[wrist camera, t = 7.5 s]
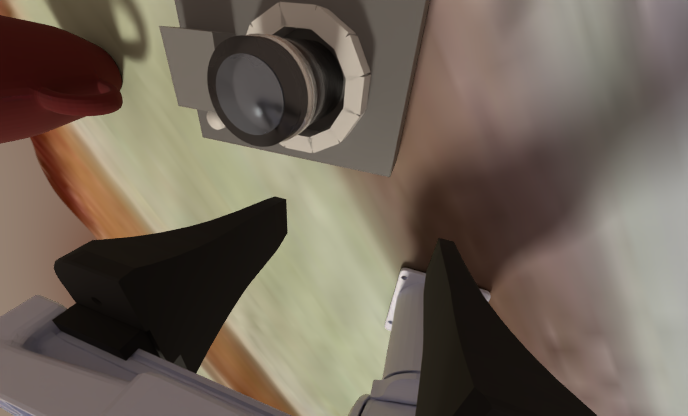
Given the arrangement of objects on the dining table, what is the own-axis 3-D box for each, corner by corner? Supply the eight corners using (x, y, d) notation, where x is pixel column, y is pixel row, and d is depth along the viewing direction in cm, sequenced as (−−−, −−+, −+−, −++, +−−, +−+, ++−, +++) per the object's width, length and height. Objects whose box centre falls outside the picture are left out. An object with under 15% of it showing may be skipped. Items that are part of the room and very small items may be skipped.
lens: (343, 124, 17) (301, 156, 12) (279, 116, 18) (215, 143, 13) (346, 38, 14) (294, 33, 9) (271, 36, 16) (189, 30, 11)
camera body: (396, 161, 20) (384, 190, 16) (227, 127, 23) (182, 144, 19) (431, -6, 15) (426, -25, 11) (205, -20, 18) (136, -40, 14)
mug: (151, 31, 21) (-33, 21, 13) (172, 130, 25) (45, 170, 17) (50, 8, 23) (-167, -13, 15) (86, 105, 27) (-65, 130, 19)
